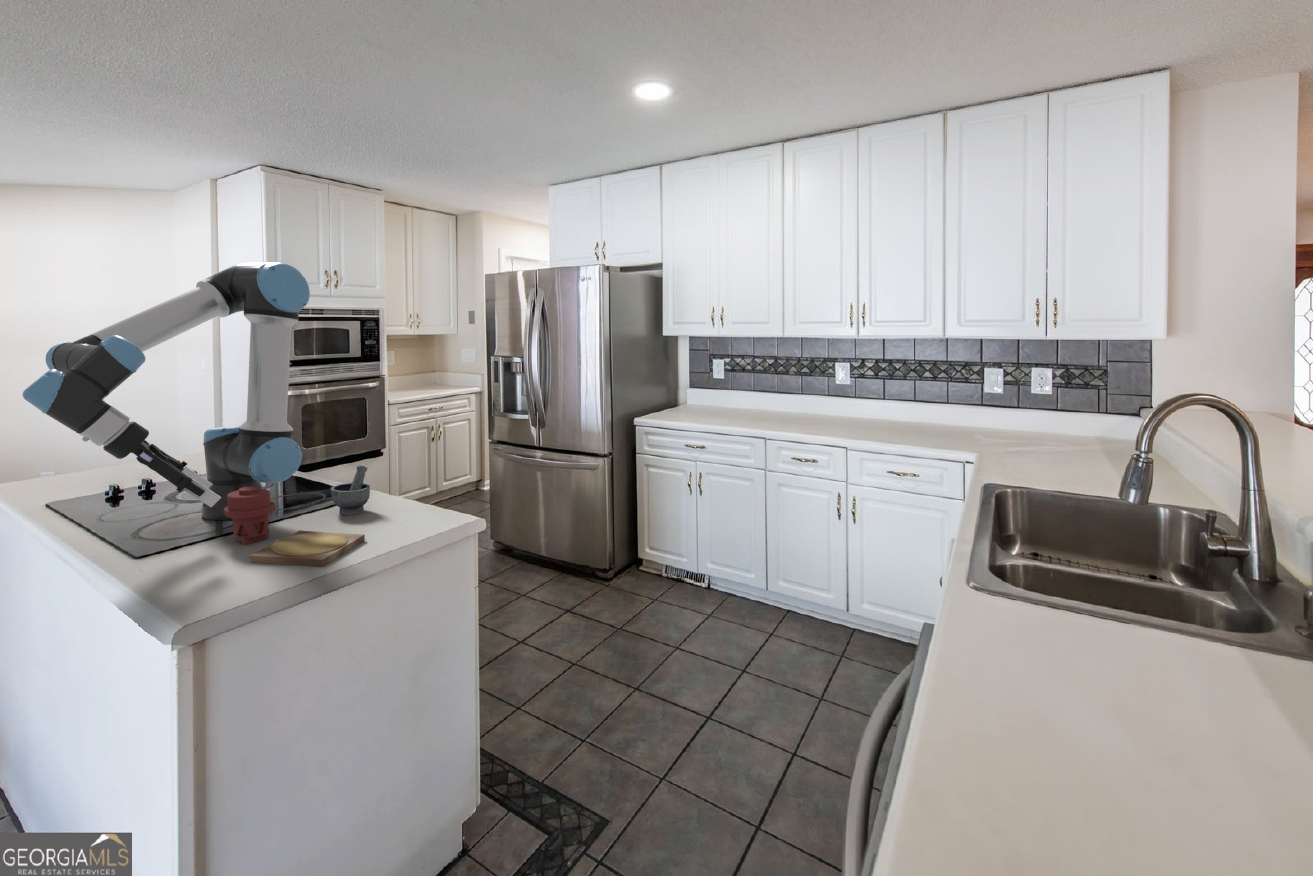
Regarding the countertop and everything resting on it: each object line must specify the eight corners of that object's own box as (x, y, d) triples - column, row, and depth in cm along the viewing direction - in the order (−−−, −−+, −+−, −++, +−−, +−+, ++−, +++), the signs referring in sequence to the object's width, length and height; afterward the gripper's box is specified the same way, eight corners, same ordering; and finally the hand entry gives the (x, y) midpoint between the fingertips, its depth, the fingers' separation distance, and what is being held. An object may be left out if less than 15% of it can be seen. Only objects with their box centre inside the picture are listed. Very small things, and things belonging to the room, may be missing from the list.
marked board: (299, 536, 151) (299, 529, 151) (364, 540, 150) (364, 533, 150) (249, 562, 134) (249, 553, 134) (322, 566, 134) (322, 558, 133)
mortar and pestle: (355, 518, 166) (353, 474, 164) (323, 515, 168) (321, 471, 166) (381, 507, 177) (380, 465, 175) (351, 504, 179) (350, 462, 177)
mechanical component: (242, 550, 141) (217, 541, 146) (286, 538, 150) (261, 530, 154) (238, 496, 139) (212, 489, 144) (283, 487, 148) (257, 481, 152)
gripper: (100, 438, 136) (191, 495, 149) (100, 458, 118) (205, 522, 130) (129, 412, 139) (217, 471, 151) (134, 428, 120) (234, 494, 133)
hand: (212, 495), depth 141 cm, fingers open, 13 cm apart
